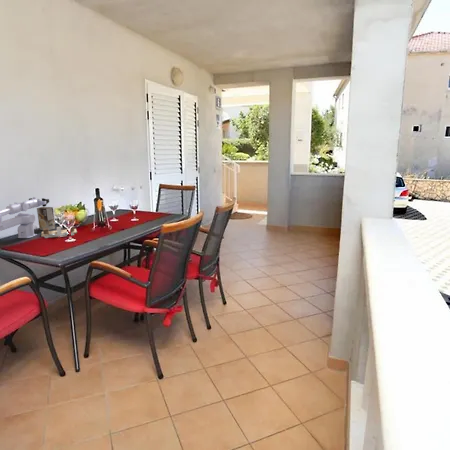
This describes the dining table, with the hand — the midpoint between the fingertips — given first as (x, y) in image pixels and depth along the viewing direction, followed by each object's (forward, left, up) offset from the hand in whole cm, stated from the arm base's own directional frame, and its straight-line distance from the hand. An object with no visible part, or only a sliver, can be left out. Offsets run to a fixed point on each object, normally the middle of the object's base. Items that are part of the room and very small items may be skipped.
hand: (43, 200), depth 243 cm
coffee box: (+2, +1, -22) cm, 22 cm away
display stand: (-9, -15, -21) cm, 28 cm away
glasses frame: (-17, -20, -22) cm, 34 cm away
